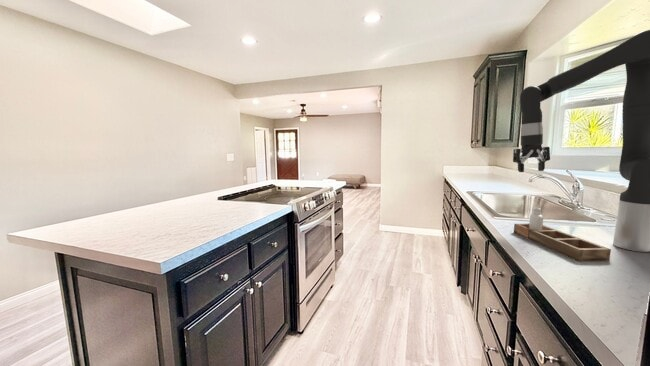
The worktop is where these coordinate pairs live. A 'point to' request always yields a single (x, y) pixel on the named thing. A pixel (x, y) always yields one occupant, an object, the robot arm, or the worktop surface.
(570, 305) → the worktop surface
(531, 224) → the eye dropper bottle
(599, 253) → the walnut rack
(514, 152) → the robot arm
